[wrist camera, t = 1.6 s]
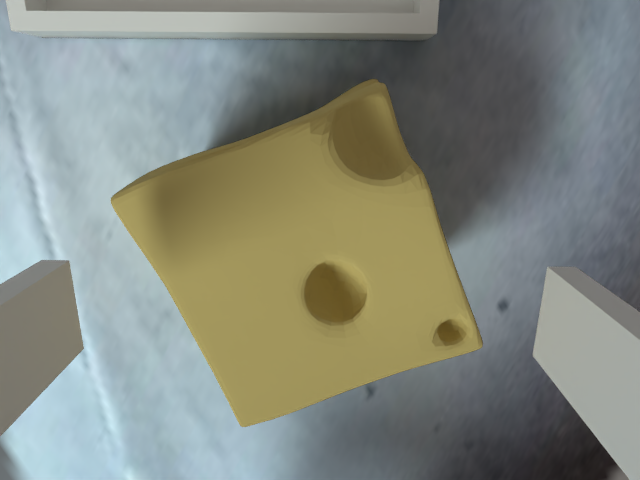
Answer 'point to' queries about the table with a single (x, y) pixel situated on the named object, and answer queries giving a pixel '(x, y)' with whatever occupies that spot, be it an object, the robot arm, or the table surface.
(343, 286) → the cheese
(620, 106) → the table surface
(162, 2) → the serving tray
